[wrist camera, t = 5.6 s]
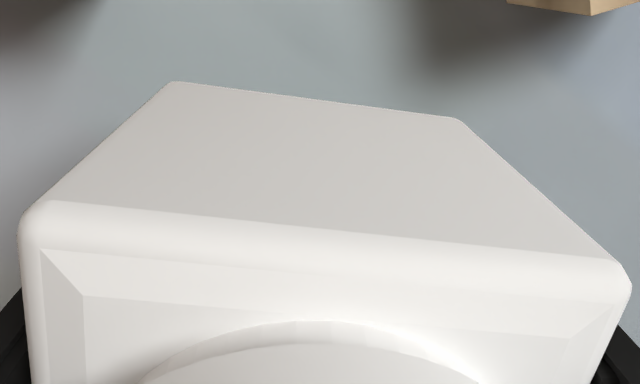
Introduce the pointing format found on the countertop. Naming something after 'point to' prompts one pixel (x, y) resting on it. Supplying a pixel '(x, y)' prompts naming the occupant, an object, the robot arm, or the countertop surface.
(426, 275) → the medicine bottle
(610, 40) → the countertop surface
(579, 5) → the oak cube
